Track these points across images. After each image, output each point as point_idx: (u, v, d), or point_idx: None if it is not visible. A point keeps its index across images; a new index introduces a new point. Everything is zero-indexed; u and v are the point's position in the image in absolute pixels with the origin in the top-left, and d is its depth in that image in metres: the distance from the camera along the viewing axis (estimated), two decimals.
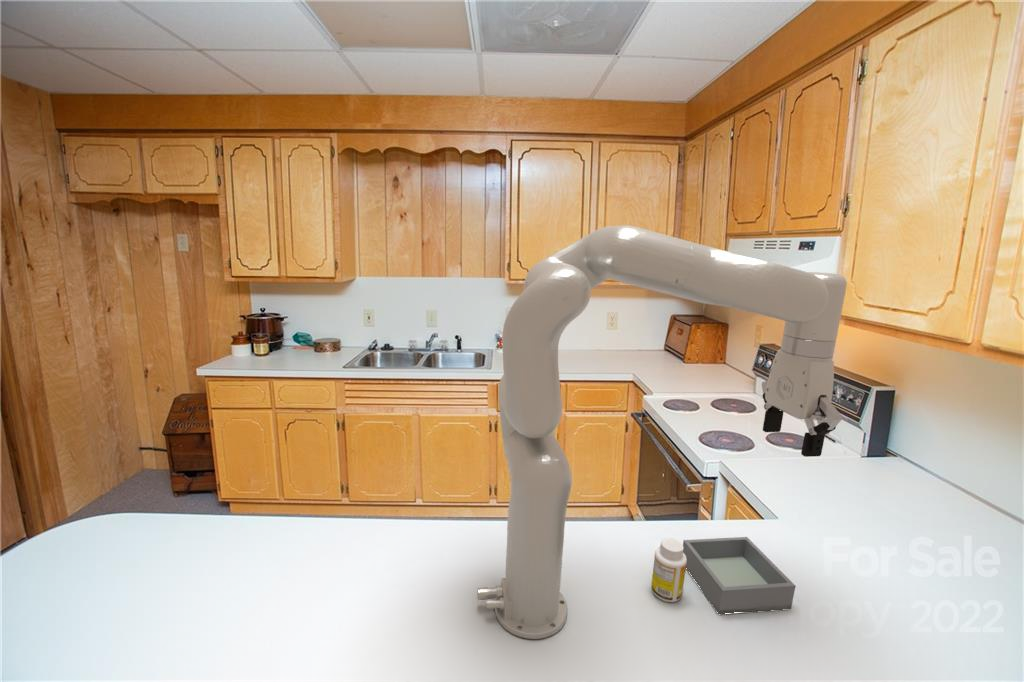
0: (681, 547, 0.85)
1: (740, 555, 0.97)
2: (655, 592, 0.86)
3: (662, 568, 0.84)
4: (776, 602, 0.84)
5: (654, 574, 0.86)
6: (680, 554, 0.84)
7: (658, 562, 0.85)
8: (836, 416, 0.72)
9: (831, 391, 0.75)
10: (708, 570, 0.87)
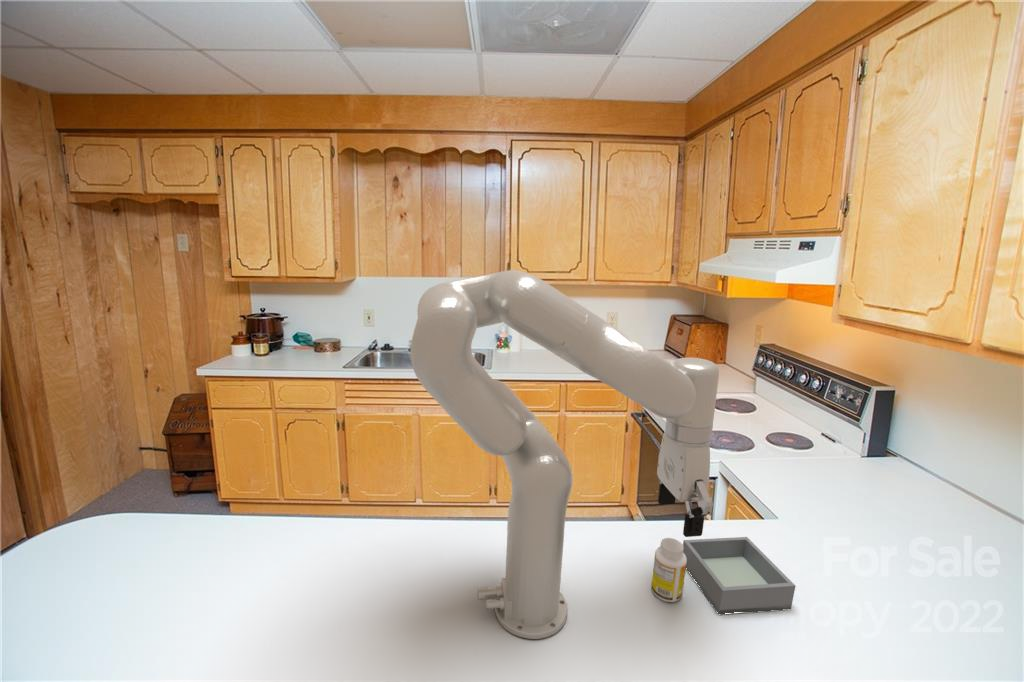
0: (681, 547, 0.85)
1: (740, 555, 0.97)
2: (655, 592, 0.86)
3: (662, 568, 0.84)
4: (776, 602, 0.84)
5: (654, 574, 0.86)
6: (680, 554, 0.84)
7: (658, 562, 0.85)
8: (707, 503, 0.74)
9: (707, 475, 0.78)
10: (708, 570, 0.87)
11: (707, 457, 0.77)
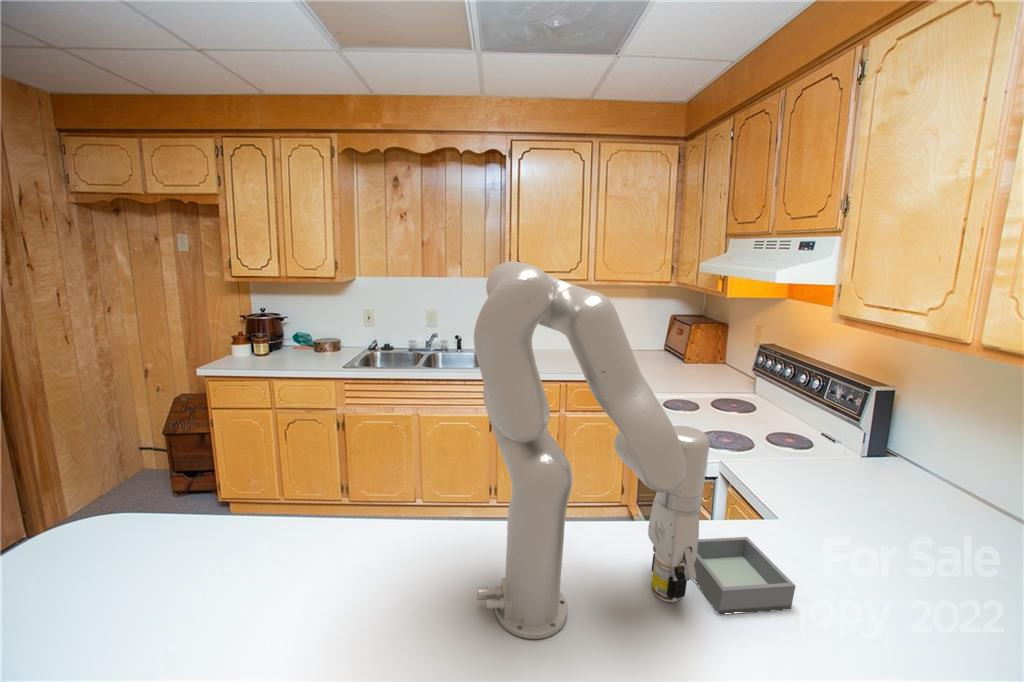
0: None
1: (740, 555, 0.97)
2: (655, 592, 0.86)
3: (662, 568, 0.84)
4: (776, 602, 0.84)
5: (654, 574, 0.86)
6: None
7: (658, 562, 0.85)
8: (691, 577, 0.78)
9: (696, 543, 0.80)
10: (708, 570, 0.87)
11: (696, 525, 0.80)
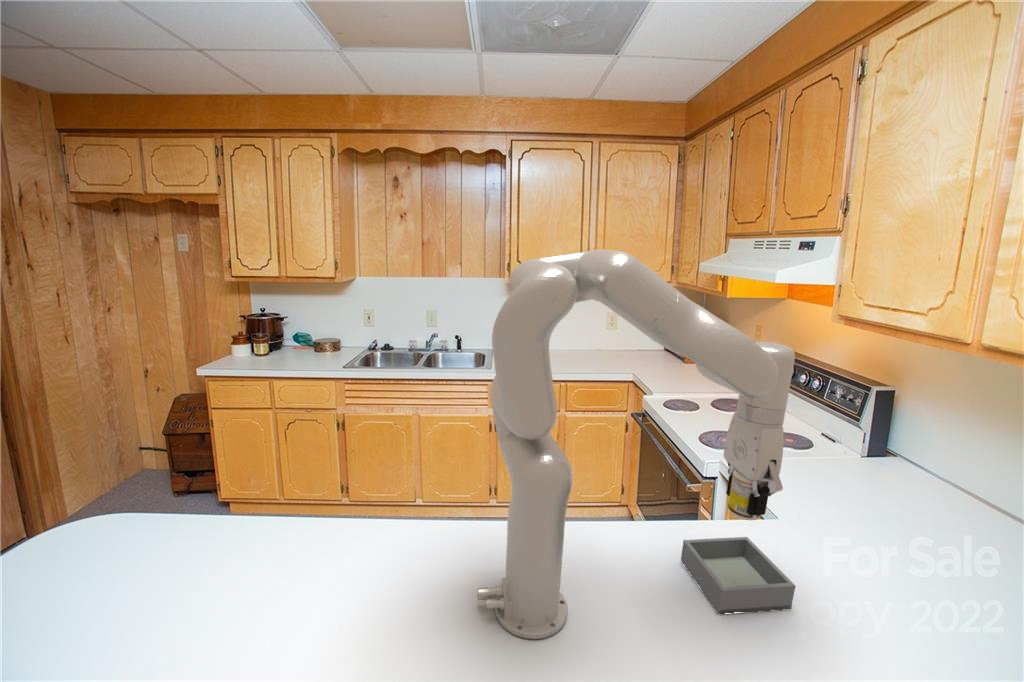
0: None
1: (740, 555, 0.97)
2: (734, 511, 0.86)
3: (743, 486, 0.84)
4: (776, 602, 0.84)
5: (732, 493, 0.86)
6: None
7: (738, 480, 0.85)
8: (778, 488, 0.78)
9: (780, 456, 0.80)
10: (708, 570, 0.87)
11: (781, 438, 0.79)
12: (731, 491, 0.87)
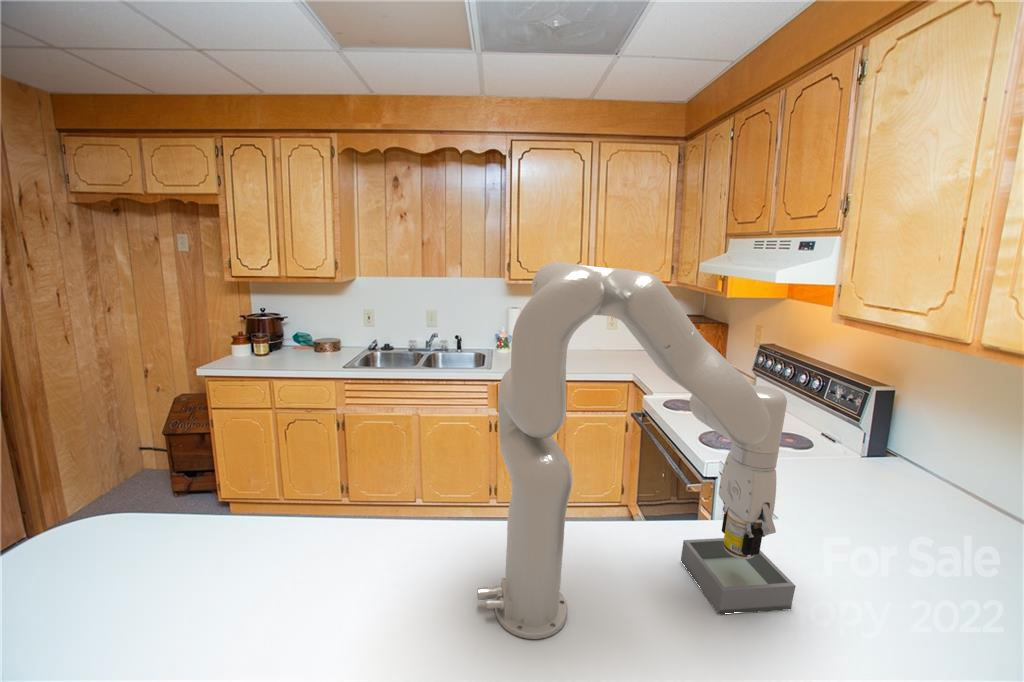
0: None
1: None
2: (729, 550, 0.88)
3: (737, 526, 0.86)
4: (776, 602, 0.84)
5: (727, 532, 0.88)
6: None
7: (733, 520, 0.86)
8: (771, 531, 0.80)
9: (773, 498, 0.82)
10: (708, 570, 0.87)
11: (774, 481, 0.81)
12: (726, 530, 0.88)
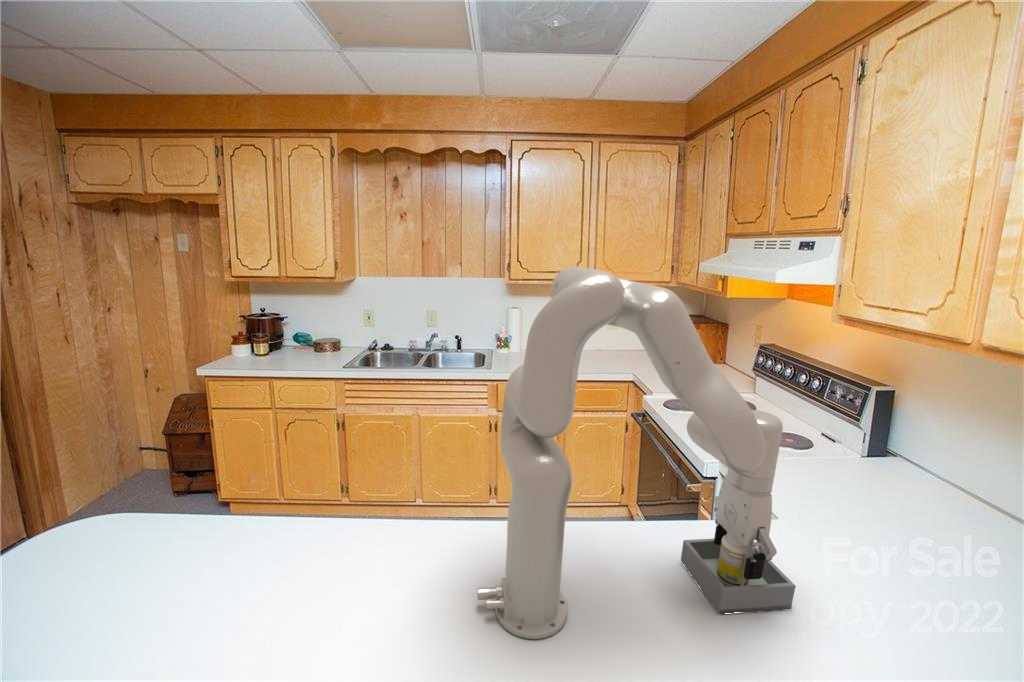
0: None
1: None
2: (722, 579, 0.89)
3: (731, 555, 0.87)
4: (776, 602, 0.84)
5: (721, 561, 0.89)
6: None
7: (726, 549, 0.88)
8: (771, 551, 0.79)
9: (769, 523, 0.83)
10: (708, 570, 0.87)
11: (770, 506, 0.82)
12: (720, 558, 0.90)
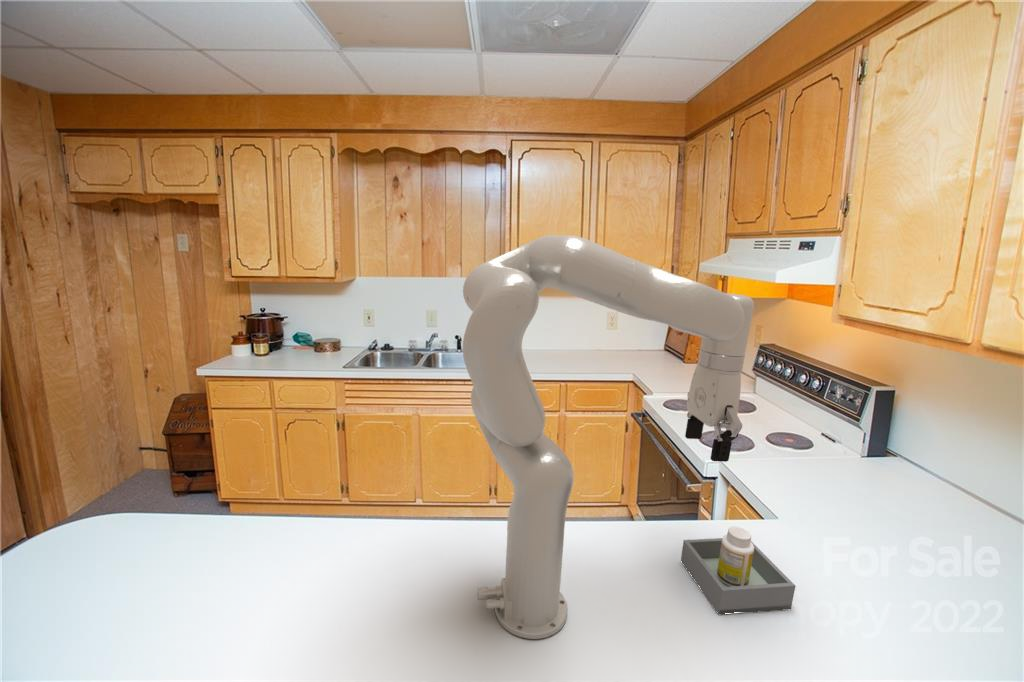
0: (749, 535, 0.87)
1: None
2: (722, 579, 0.89)
3: (731, 555, 0.87)
4: (776, 602, 0.84)
5: (721, 561, 0.89)
6: (748, 542, 0.87)
7: (726, 549, 0.88)
8: (737, 425, 0.79)
9: (737, 402, 0.82)
10: (708, 570, 0.87)
11: (738, 384, 0.82)
12: (720, 558, 0.90)
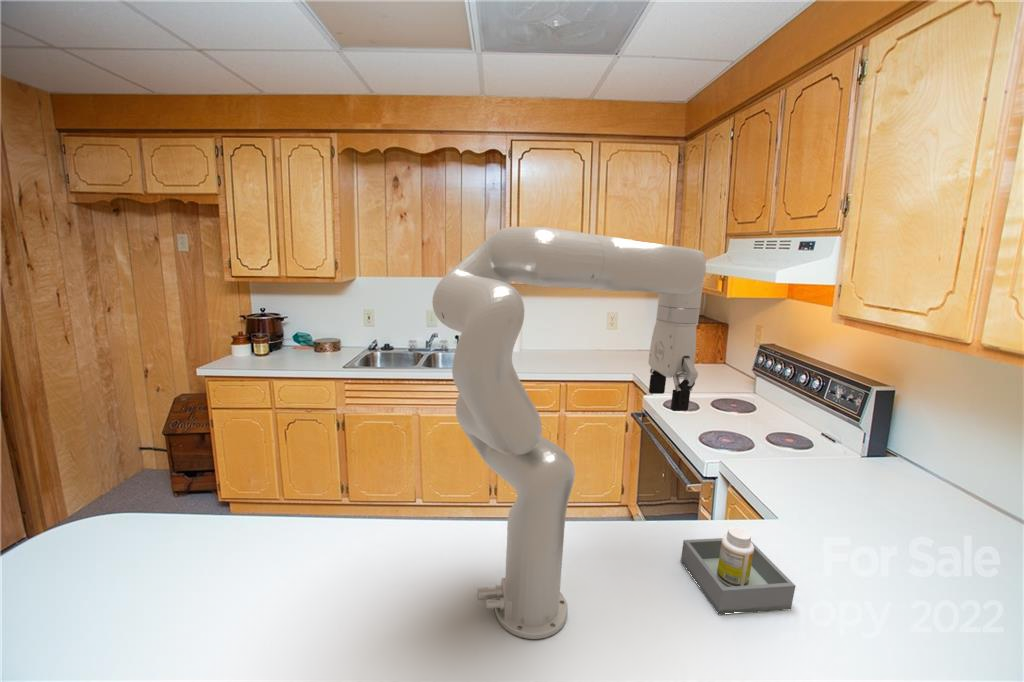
0: (749, 535, 0.87)
1: None
2: (722, 579, 0.89)
3: (731, 555, 0.87)
4: (776, 602, 0.84)
5: (721, 561, 0.89)
6: (748, 542, 0.87)
7: (726, 549, 0.88)
8: (693, 373, 0.82)
9: (693, 353, 0.85)
10: (708, 570, 0.87)
11: (694, 336, 0.85)
12: (720, 559, 0.90)
